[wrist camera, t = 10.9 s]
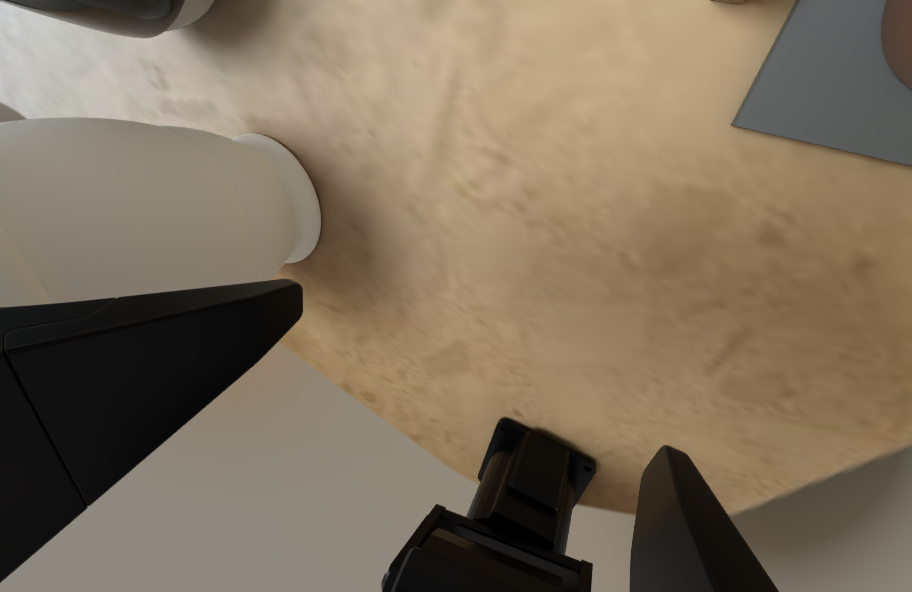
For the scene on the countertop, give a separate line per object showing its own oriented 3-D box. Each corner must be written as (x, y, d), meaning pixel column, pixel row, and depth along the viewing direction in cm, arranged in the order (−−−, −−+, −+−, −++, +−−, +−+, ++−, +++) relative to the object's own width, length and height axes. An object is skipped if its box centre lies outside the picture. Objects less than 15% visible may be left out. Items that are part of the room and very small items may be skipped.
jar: (205, 214, 28) (-125, 296, 16) (224, 77, 23) (-270, 41, 10) (312, 302, 28) (52, 457, 15) (360, 183, 22) (4, 281, 10)
